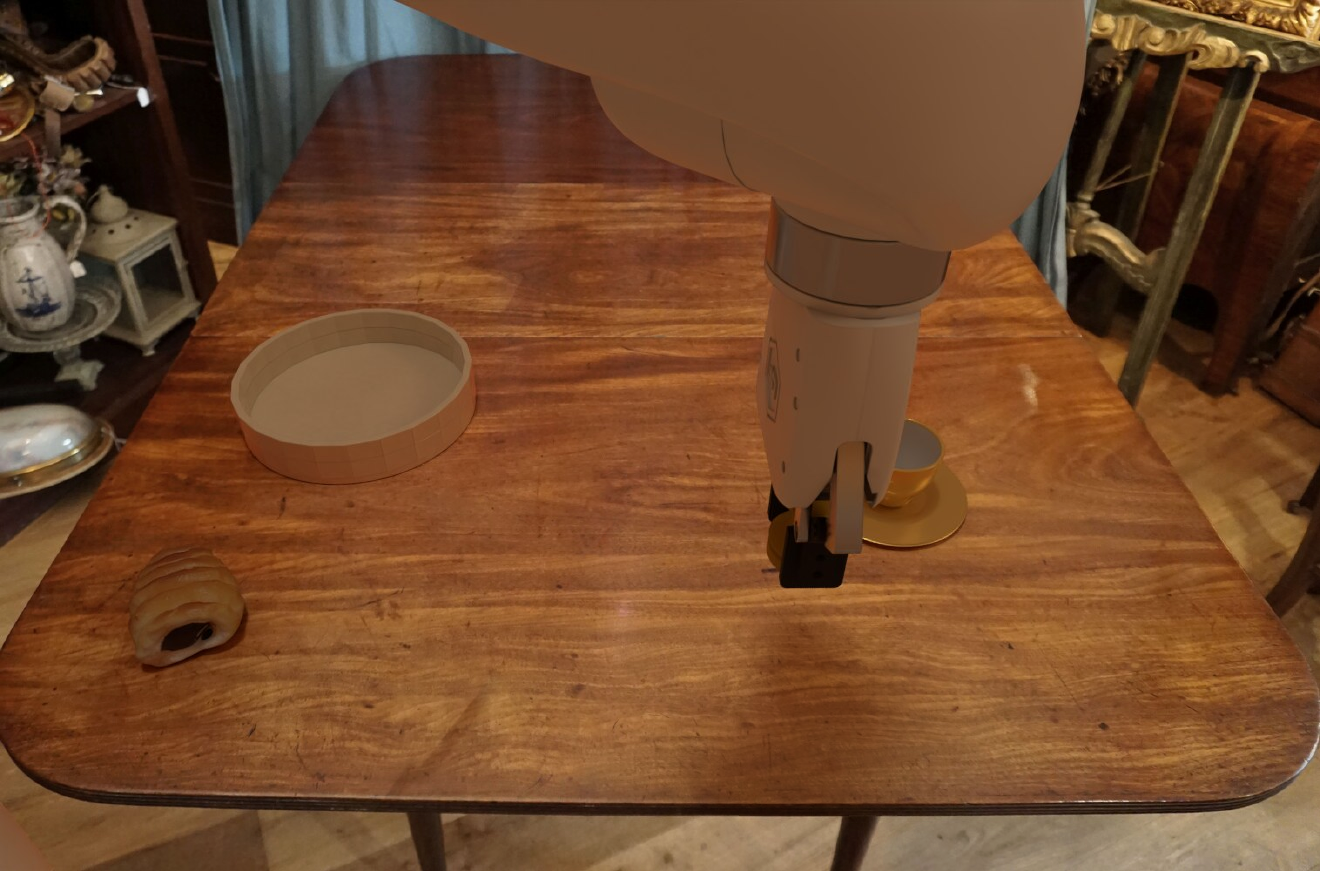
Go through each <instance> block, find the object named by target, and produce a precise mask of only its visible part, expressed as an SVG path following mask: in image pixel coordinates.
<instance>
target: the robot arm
mask: <svg viewBox="0 0 1320 871" xmlns="http://www.w3.org/2000/svg"><path fill="white" fill-rule="evenodd" d="M393 1H394V2H396V3H399V4H401V5H403V6H405V7H408V8H410V9H413V10H415V11H418V12H419V13H422V14H424V15H426V16H429V17H431V18H434V19H436V20H438V21H439V22H440V21H441V22H443V23H444V24H447V25H449V26H450V27H453V28H455V29H457V30H459V31H461V32H464V33H466V34H468V35H470V36H473V37H476V38H479V39H481V40H483V41H486V42H489V43H491V44H494V45H496V46H499V47H501V48H505V49H507V50H510V51H513V52H515V53H518V54H520V55H523V56H525V57H529V58H532V59H535V60H537V61H539V62H543V63H546V64H549V65H552V66H556V67H558V68H562V69H564V70H569V71H572V72H574V73H577V74H578V73H579V74H582V75H585V76H588V77H589V78H590V83H591V86H592V89H593V91H594V94H595V96H596V99H597V101H598V103H599V105H600V106H601V108H602V110H603V112H604V114H605V115H606V116H607V117H608V119H609V121H610V122H611V124H613V125H614V127H615V128H616V129H617V130H618V131H619V132H620V133H621V134H622V135H623V136H624V137H626V138H627V139H628V140H629V141H631V142H632V143H633V144H635V145H636V146H638V147H640V148H641V149H642V150H645V151H646V152H647V153H649V154H650V155H653V156H654V157H657V158H659V159H662V160H664V161H666V162H669V163H671V164H674V165H676V166H679V167H682V168H685V169H688V170H691V171H695V172H697V173H700V174H702V175H705V176H709V177H711V178H714V179H716V180H720V181H721V182H722V181H723V182H725V183H728V184H730V185H733V186H735V187H736V186H737V187H739V188H742V189H745V190H748V191H751V192H755V193H756V192H757V193H763V194H765V195H768V196H770V204H769V211H768V212H769V213H768V222H767V231H766V241H765V250H764V257H763V271H764V274H765V276H766V278H767V280H768V281H769V283H770V284H771V285H772V288H771V292H770V296H769V303H768V309H767V316H766V321H765V328H764V333H763V340H762V346H761V351H760V357H759V362H758V368H757V376H756V383H755V384H756V386H755V396H756V397H755V398H756V407H757V412H758V413H757V414H758V418H759V423H760V430H761V436H762V441H763V445H764V452H765V457H766V461H767V466H768V471H769V474H770V480H771V482H770V490H769V496H768V503H767V510H766V511H767V512H766V514H767V518H768V521H769V522H770V523H771V522H772V521H773V519H775V518H776V517H777V516H778V515H780V514H782V513H784V512H787V511H789V509H788V508H793V507H795V508H796V510H795V519H794V525H792V526H787V528H786V535H785V541H784V547H783V553H782V560H781V566H780V571H779V574H778V579H779V584H780V587H781V588H783V589H836V588H839V587H841V585H842V584H843V582H844V577H845V571H846V567H847V563H848V558H849V555H855V554H856V555H860V554H862V551H863V540H864V539H863V505H864V498H865V501H866V503H867V504H868V505H869V506H870V507H871V508H874V507H875V506H876V505H878V504H879V503H880V502H881V500H882V499H883V498H884V496H885V494H886V492H887V489H888V486H889V483H890V480H891V477H892V473H893V470H894V466H895V462H896V458H897V454H898V450H899V445H900V441H901V436H902V431H903V426H904V421H905V417H907V416H906V415H907V409H908V404H909V399H910V393H911V387H912V381H913V376H914V369H915V361H916V359H917V358H916V357H917V347H918V340H919V333H920V324H921V318H922V317H921V316H922V310H923V309H926V308H928V307H929V306H930V305H932V304H933V303H935V302H936V301H937V300H938V299H939V297H940V295H941V294H942V291H943V289H944V285H945V281H946V277H947V271H948V267H949V265H950V264H949V263H950V260H951V255H952V252H953V251H954V252H955V251H963V250H966V249H970V248H972V247H975V246H977V245H980V244H983V243H985V242H987V241H989V240H991V239H992V238H994V237H996V236H997V235H999V234H1000V233H1002V232H1003V231H1005V230H1006V229H1008V227H1010V225H1012V224H1013V223H1014V222H1015V221H1016V220H1017V219H1019V218H1020V217H1021V216H1022V215H1023V214H1024V213H1025V212H1026V210H1027V209H1028V208H1029V207H1030V206H1031V205H1032V204H1033V203H1034V201H1035V200H1036V199H1037V198H1038V196H1039V195H1040V194H1041V193H1042V191H1043V189H1044V188H1045V187H1046V185H1047V183H1048V182H1049V181H1050V179H1051V178H1052V176H1053V174H1054V172H1055V170H1056V169H1057V166H1058V164H1059V162H1060V160H1061V159H1062V157H1063V155H1064V151H1065V149H1066V147H1067V144H1068V143H1069V140H1070V137H1071V135H1072V132H1073V128H1074V124H1075V122H1076V118H1077V115H1078V112H1079V108H1080V105H1081V104H1080V103H1081V99H1082V93H1083V89H1084V83H1085V72H1086V62H1087V22H1086V21H1087V20H1086V12H1085V11H1086V10H1085V0H393ZM813 501H830V512H829V517H811V514H812V505H813ZM0 871H54V870H53V868H52V867H51V865H50V864H49V862H48V861H47V860H46V859H45V857H44V856H43V854H42V853H41V852H40V851H39V849H38V848H37V847H36V845H35V844H34V843H33V841H32V840H31V839H30V837H29V836H28V835H27V834H26V832H25V831H24V829H23V828H22V827H21V825H20V824H19V823H18V821H17V820H16V819H15V818H14V816H13V815H12V813H10V811H9V810H8V809H7V807H6V806H5V805H4V803H3V802H2V801H1V800H0Z"/></svg>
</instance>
